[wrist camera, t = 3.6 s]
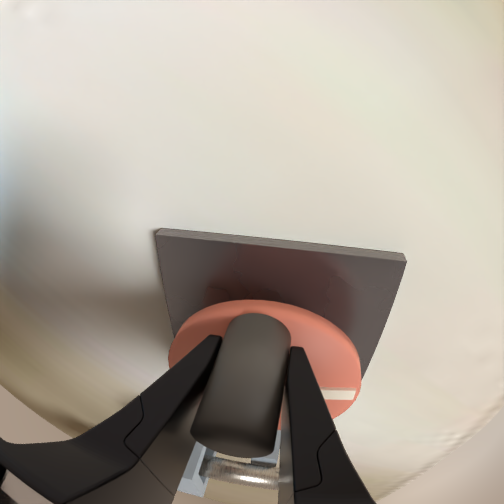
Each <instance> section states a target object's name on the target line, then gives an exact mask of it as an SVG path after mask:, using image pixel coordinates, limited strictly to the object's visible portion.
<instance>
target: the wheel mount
mask: <svg viewBox="0 0 504 504" xmlns="http://www.w3.org/2000/svg"><path fill="white" fill-rule="evenodd" d="M155 236H156V243H157V250H158V256H159V262H160V268H161V274H162V279H163V285H164V290H165V296H166V301H167V306H168V311H169V316H170V320H171V325H172V330H173V334H174V339H175V337H176V335H177V333H178V331H179V329H180V328H181V326H182V325H183V323H184V322H185V321H186V320H187V319H188V318H189V317H191V316H192V315H193V314H195V313H196V312H198V311H200V310H202V309H204V308H206V307H209V306H212V305H215V304H218V303H223V302H228V301H235V300H266V301H275V302H280V303H285V304H290V305H293V306H297V307H300V308H303V309H306V310H308V311H311V312H313V313H315V314H317V315H320V316H321V317H323V318H325V319H327V320H328V321H330V322H332V323H333V324H334V325H336V326H337V327H338V328H340V329H341V330H342V331H343V332H344V333H345V334H346V335H347V336H348V337H349V338H350V340H351V341H352V343H353V344H354V346H355V348H356V350H357V352H358V355H359V359H360V367H361V380H362V378H363V376H364V374H365V372H366V370H367V367H368V365H369V363H370V361H371V358H372V356H373V354H374V351H375V349H376V347H377V344H378V342H379V339H380V337H381V334H382V332H383V329H384V327H385V324H386V322H387V319H388V316H389V314H390V311H391V308H392V305H393V303H394V300H395V297H396V294H397V291H398V288H399V285H400V282H401V279H402V276H403V273H404V269H405V266H406V263H407V261H406V258H405V256H404V254H403V253H394V252H386V251H377V250H369V249H360V248H351V247H342V246H333V245H324V244H315V243H306V242H297V241H287V240H278V239H268V238H258V237H248V236H238V235H228V234H218V233H207V232H197V231H186V230H175V229H164V228H161V229H160V230H159V231H158V232H157V233H156V234H155Z"/></svg>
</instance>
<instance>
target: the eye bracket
mask: <svg viewBox="0 0 504 504" xmlns="http://www.w3.org/2000/svg"><path fill="white" fill-rule="evenodd" d="M280 440H281V430H277V436H276V442H275V447H274V451H273V452H272V453H271V454H270V455H268V456H264V457H260V458H251V464H256V465H263V466H270V467H276V463H277V460H278V454H279V448H280ZM216 453H217V452H216V451H213V450H211V449H209V448H207V447H205V446H203V445H202V444H200V443H199V442H197V441H196V443H195V446H194V449H193V451H192V454H191V456H190V459H189V461H188V464H187V466H186V469H185V471H184V474H183V476H182V479H181V481H180V484H179V486H178V489H177V490H178V491H181V492H185V493H188V494H192V495H196V496H200V497H203V495H204V492H205V489H206V486H207V482H208V479H209V478H207V477H203V476H199V474H198V473H199V470H200V467H201V464H202V460H203V457H204V454H205V455H209V456H214V457H215V456H216Z"/></svg>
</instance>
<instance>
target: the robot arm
mask: <svg viewBox="0 0 504 504" xmlns="http://www.w3.org/2000/svg"><path fill="white" fill-rule="evenodd" d="M222 341H223V339H222V337H221V336H219V335H213V334H210V335H208V336H207V337H206V338H205V339H204V340H203V341H201V342H200V343H199V344H198V345H197V346H196V347H195V348H193V349H192V350H191V351H190V352H189V353H188V354H187V355H185V356H184V357H183V358H182V359H181V360H180V361H178V362H177V363H176V364H175V365H174V366H173V367H172V368H170V369H169V370H168V371H167V372H166V373H165V374H163V375H162V376H161V377H160V378H159V379H157V380H156V381H155V382H154V383H153V384H152V385H150V386H149V387H148V388H147V389H146V390H144V391H143V392H142V393H141V394H140V396H139V395H138V396H137V397H136V398H135V399H134V400H132V401H131V402H130V403H129V404H127V405H126V406H125V407H123V408H122V409H121V410H119V411H118V412H117V413H115V414H114V415H112V416H111V417H109V418H108V419H106V420H104V421H103V422H101V423H100V424H98V425H96V426H95V427H93V428H92V429H90V430H88V431H87V432H85V433H83V434H82V435H80V436H78V437H76V438H73V439H70V440H66V441H59V442H47V443H33V444H13V443H9V442H6V441H5V440H3V439H2V438H0V504H172V501H173V499H174V496H175V494H176V491H177V489H178V486H179V484H180V481H181V479H182V476H183V474H184V471H185V469H186V466H187V464H188V461H189V459H190V456H191V454H192V451H193V449H194V446H195V443H196V440H195V439H194V438H193V437H192V435H191V433H190V429H191V426H192V424H193V421H194V418H195V415H196V413H197V410H198V407H199V404H200V402H201V399H202V396H203V393H204V391H205V388H206V385H207V382H208V380H209V377H210V374H211V371H212V369H213V366H214V363H215V360H216V358H217V355H218V352H219V349H220V347H221V344H222ZM278 504H376V502H375V501H374V500H373V498H372V497H371V495H370V494H369V492H368V490H367V489H366V487H365V485H364V483H363V482H362V480H361V478H360V477H359V475H358V473H357V471H356V470H355V468H354V466H353V464H352V462H351V461H350V459H349V457H348V455H347V453H346V451H345V449H344V446H343V444H342V442H341V439H340V437H339V434H338V432H337V430H336V427H335V424H334V422H333V419H332V417H331V414H330V412H329V409H328V407H327V404H326V402H325V399H324V397H323V394H322V392H321V389H320V387H319V384H318V382H317V379H316V377H315V374H314V372H313V369H312V367H311V365H310V362H309V360H308V357H307V355H306V352H305V350H304V348H303V347H299V346H291V347H290V353H289V360H288V367H287V374H286V380H285V387H284V394H283V400H282V408H281V440H280V469H279V492H278Z"/></svg>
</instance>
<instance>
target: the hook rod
mask: <svg viewBox="0 0 504 504" xmlns="http://www.w3.org/2000/svg"><path fill="white" fill-rule="evenodd" d="M279 469H280V468H278V467H270V466H263V465H256V464H250V463H244V462H238V461H233V460H228V459H223V458H218V457H214V456H209V455H205V454H204V457H203V460H202V464H201V467H200V470H199V473H198V474H199V476H203V477H207V478H211V479H215V480H220V481H225V482H230V483H235V484H240V485H246V486H252V487H258V488H265V489H273V490H279Z"/></svg>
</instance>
